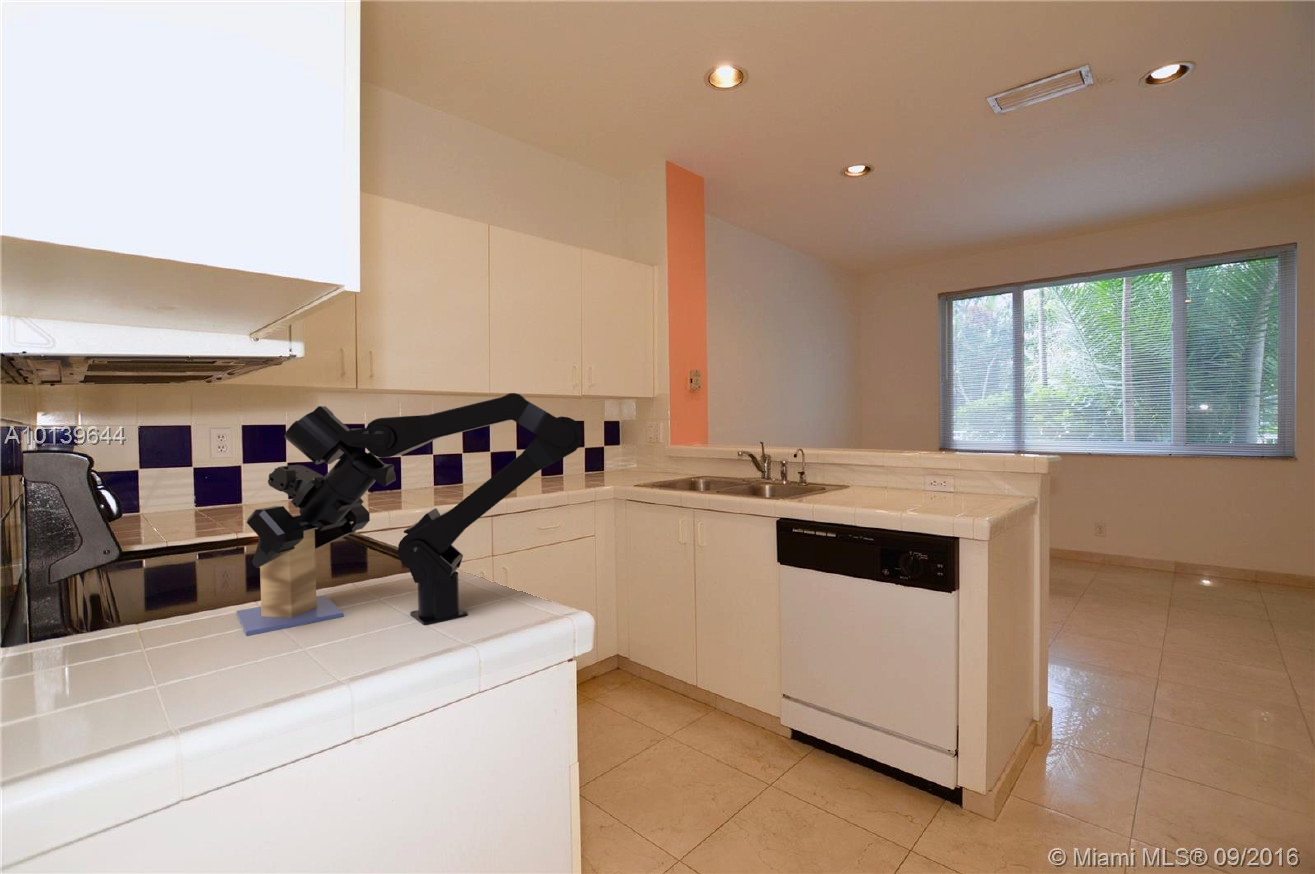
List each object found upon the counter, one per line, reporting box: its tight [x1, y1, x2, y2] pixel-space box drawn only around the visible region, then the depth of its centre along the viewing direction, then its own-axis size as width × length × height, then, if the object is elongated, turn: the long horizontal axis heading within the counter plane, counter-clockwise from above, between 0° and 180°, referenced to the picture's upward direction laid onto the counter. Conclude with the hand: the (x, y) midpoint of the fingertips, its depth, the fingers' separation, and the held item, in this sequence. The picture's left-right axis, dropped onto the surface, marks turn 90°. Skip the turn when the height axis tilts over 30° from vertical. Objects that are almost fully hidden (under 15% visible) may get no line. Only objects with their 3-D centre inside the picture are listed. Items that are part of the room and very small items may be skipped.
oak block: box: [259, 530, 317, 618], centre depth 90 cm, size 5×5×12 cm
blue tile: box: [236, 594, 344, 636], centre depth 90 cm, size 12×12×1 cm
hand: (280, 558), depth 90 cm, fingers open, 9 cm apart
